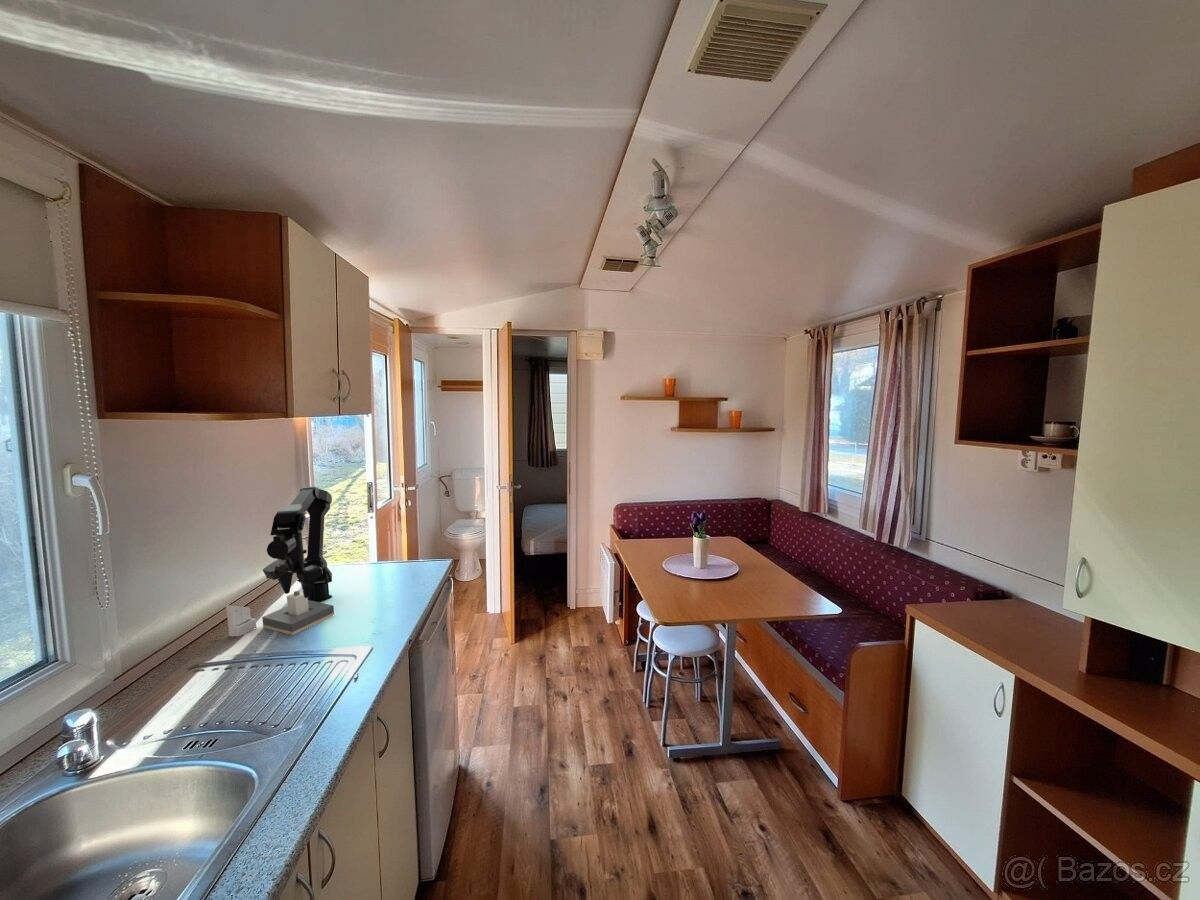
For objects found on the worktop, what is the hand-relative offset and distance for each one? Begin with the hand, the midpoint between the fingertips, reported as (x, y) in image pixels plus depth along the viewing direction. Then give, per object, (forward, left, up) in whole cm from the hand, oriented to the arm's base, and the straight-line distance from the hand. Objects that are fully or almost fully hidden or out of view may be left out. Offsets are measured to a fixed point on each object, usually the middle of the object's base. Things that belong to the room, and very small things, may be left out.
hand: (296, 595), depth 151 cm
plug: (0, 0, -8) cm, 8 cm away
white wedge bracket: (+11, -10, -9) cm, 17 cm away
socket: (0, 0, -9) cm, 9 cm away
